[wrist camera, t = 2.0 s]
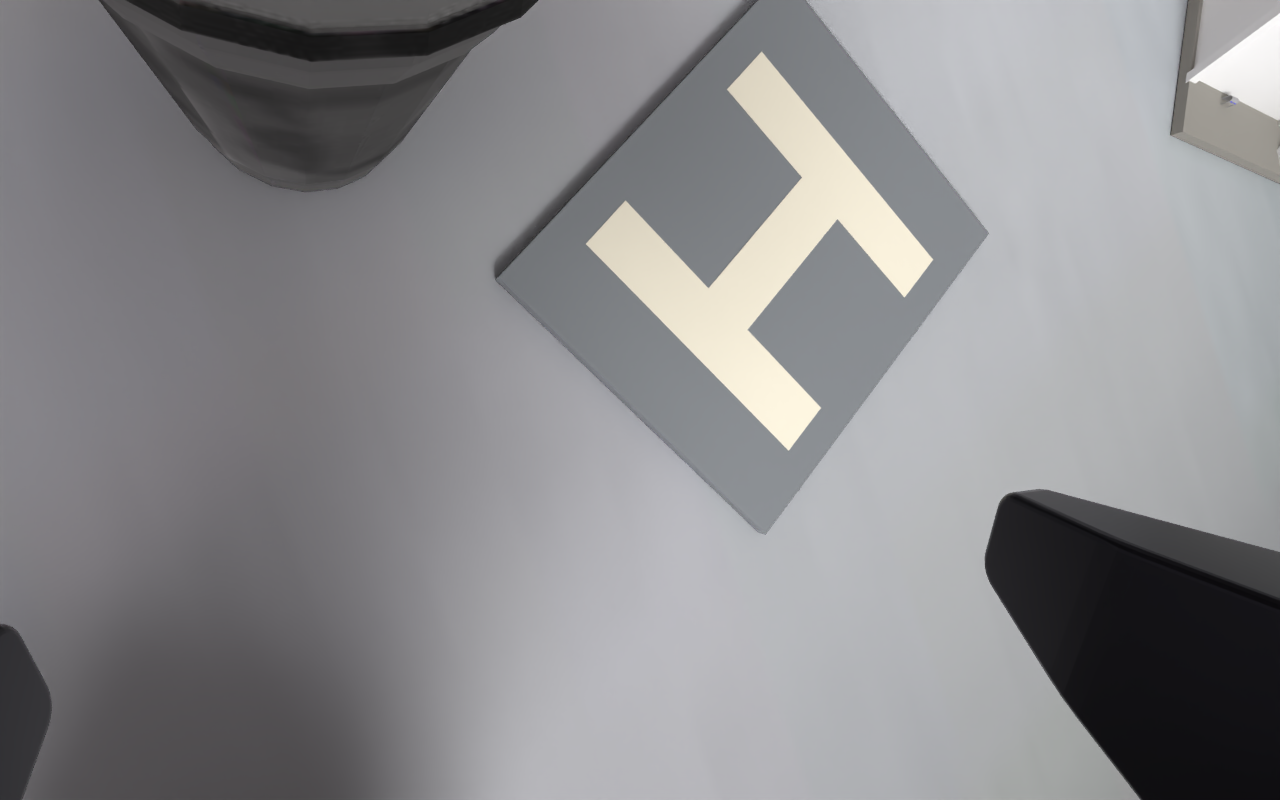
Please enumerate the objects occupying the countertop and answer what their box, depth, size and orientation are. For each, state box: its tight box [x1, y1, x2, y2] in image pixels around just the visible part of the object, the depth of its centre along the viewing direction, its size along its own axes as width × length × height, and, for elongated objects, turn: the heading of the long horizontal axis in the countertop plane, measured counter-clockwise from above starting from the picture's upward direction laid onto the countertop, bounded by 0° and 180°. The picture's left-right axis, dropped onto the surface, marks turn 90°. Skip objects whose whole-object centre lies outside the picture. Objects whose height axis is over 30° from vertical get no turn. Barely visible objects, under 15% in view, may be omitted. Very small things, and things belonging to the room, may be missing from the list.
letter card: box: [495, 0, 989, 535], centre depth 23 cm, size 12×10×1 cm
